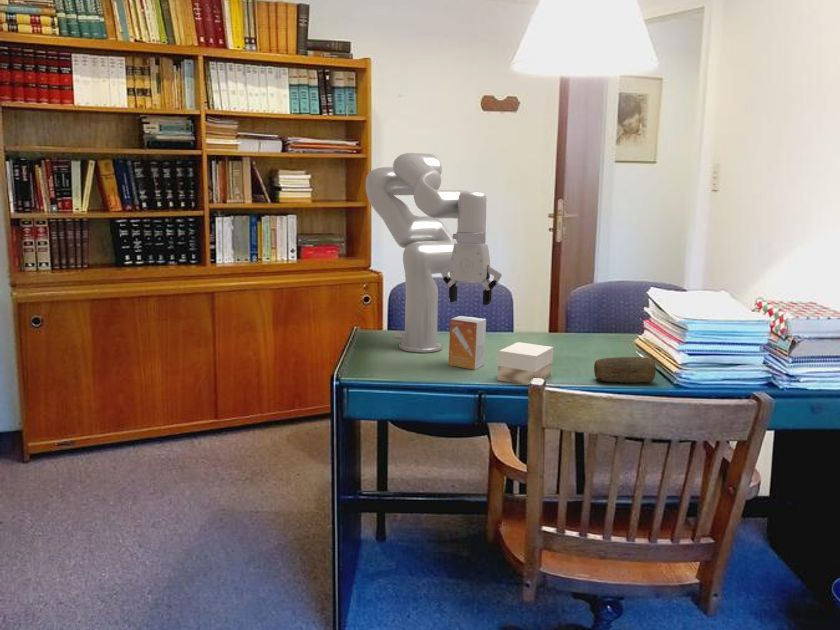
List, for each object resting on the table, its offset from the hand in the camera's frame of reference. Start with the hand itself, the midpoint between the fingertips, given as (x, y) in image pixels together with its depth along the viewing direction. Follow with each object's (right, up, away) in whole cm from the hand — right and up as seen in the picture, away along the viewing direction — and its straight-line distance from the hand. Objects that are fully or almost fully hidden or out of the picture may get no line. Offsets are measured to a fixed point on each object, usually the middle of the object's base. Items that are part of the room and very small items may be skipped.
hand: (469, 303), depth 207 cm
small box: (-1, -17, +4) cm, 18 cm away
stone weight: (+39, -21, -9) cm, 45 cm away
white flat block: (+14, -16, -8) cm, 23 cm away
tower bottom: (+14, -20, -7) cm, 25 cm away
